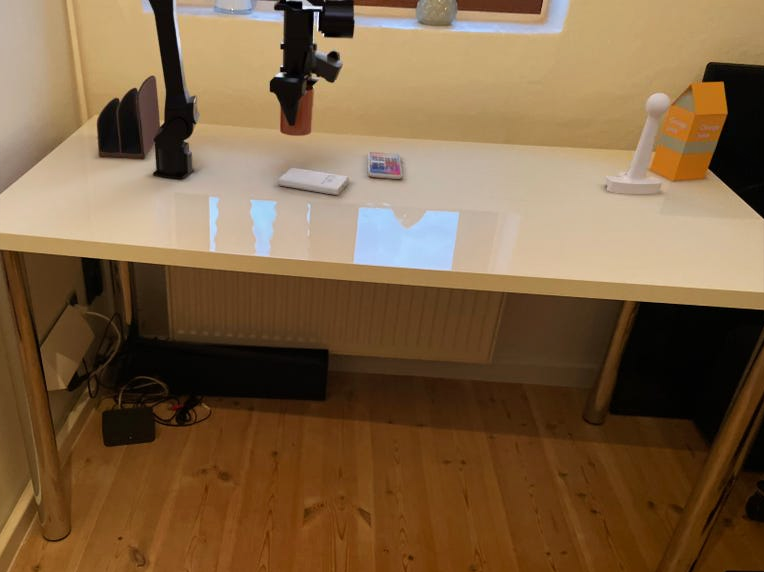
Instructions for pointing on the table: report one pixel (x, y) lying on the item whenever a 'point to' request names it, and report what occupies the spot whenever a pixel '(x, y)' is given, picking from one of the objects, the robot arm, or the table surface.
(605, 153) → the table surface
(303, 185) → the hard drive
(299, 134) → the cup
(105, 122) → the letter holder
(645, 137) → the joystick
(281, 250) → the table surface
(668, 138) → the orange juice
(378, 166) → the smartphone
